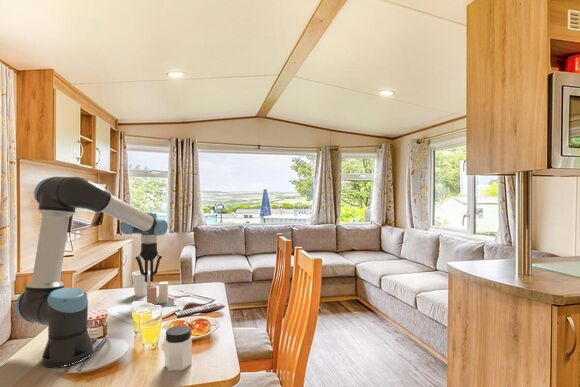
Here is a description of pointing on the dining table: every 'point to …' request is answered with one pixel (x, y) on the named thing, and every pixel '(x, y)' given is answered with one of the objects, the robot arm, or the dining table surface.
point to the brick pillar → (152, 294)
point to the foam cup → (139, 284)
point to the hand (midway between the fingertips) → (149, 287)
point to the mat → (170, 301)
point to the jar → (178, 348)
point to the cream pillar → (163, 292)
